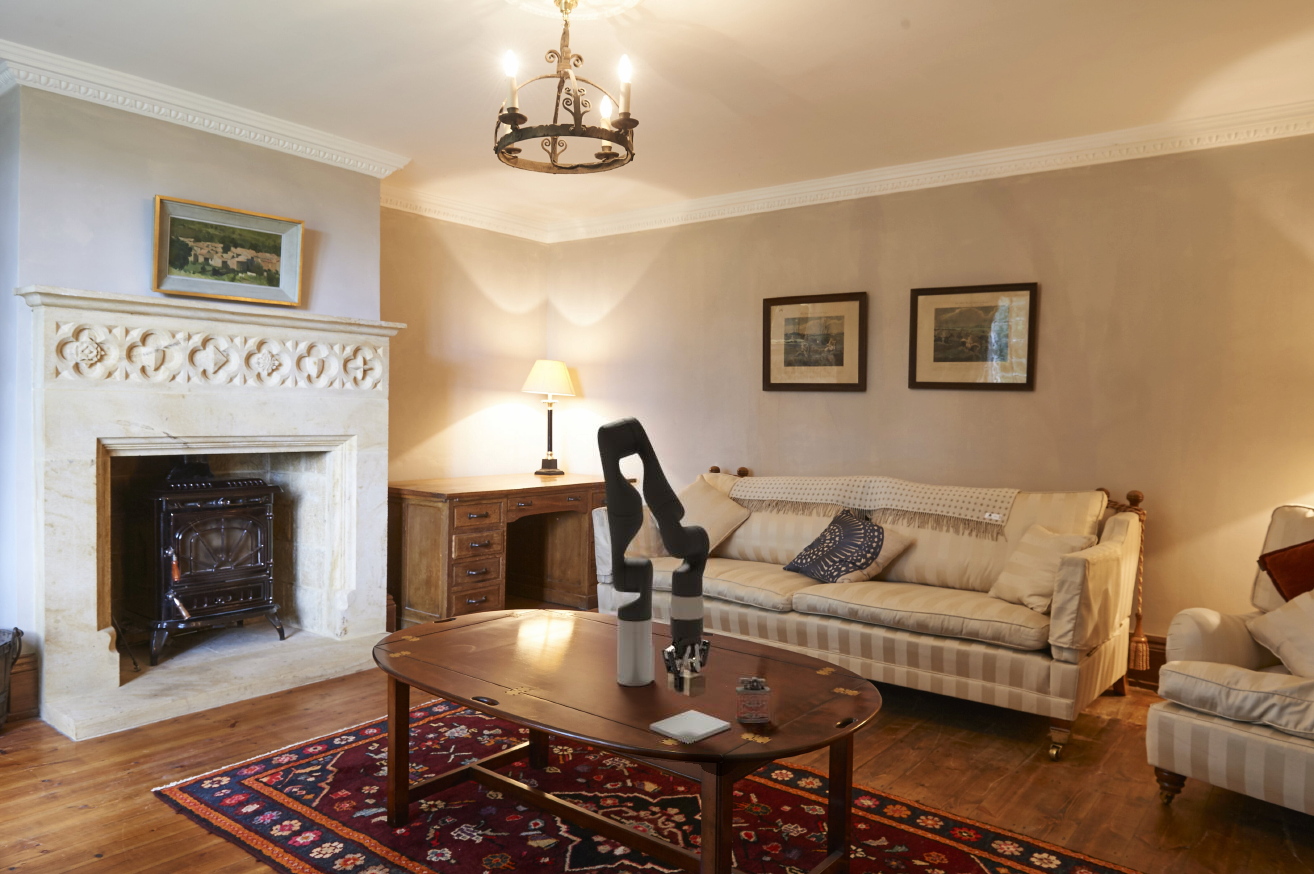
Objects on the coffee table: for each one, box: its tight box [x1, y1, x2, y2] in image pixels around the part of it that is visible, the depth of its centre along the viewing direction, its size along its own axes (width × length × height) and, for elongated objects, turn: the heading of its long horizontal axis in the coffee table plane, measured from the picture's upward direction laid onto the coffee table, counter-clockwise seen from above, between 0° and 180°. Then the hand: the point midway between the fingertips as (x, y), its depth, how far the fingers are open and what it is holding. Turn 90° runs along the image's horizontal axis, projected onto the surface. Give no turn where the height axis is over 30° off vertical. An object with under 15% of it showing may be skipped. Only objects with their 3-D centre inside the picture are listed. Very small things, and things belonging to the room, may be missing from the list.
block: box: [667, 668, 707, 698], centre depth 187 cm, size 8×4×4 cm, turn 44°
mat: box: [649, 709, 731, 745], centre depth 188 cm, size 14×12×1 cm
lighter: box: [735, 676, 771, 724], centre depth 193 cm, size 8×3×10 cm, turn 92°
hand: (686, 688), depth 187 cm, fingers closed on block, 4 cm apart
